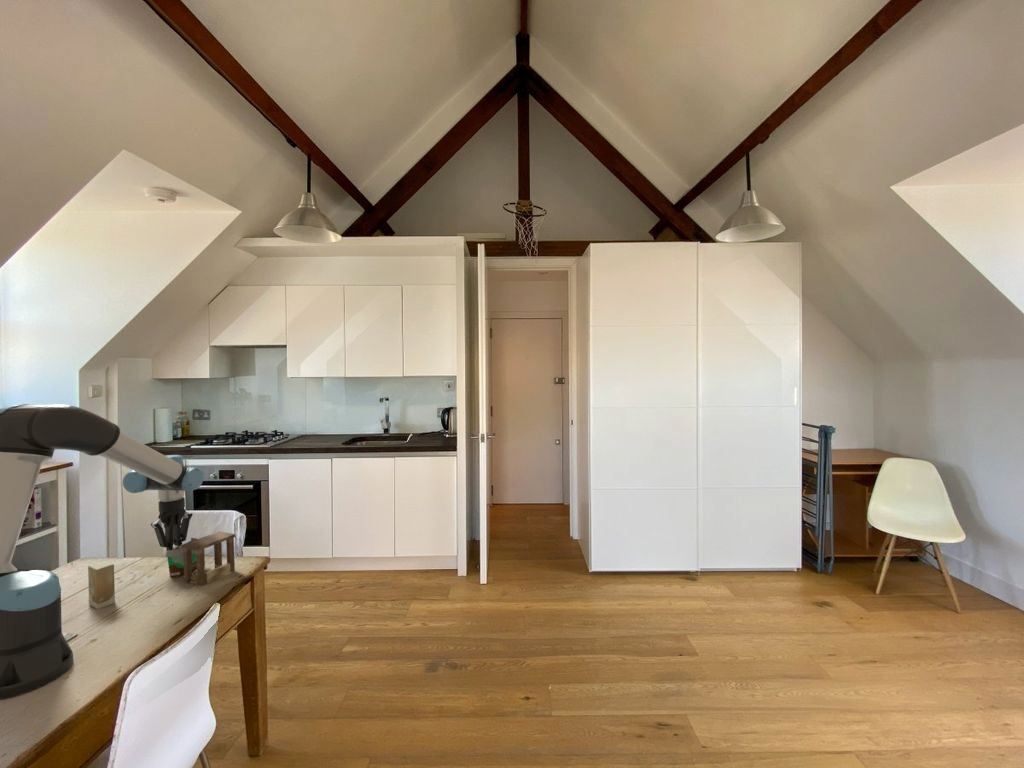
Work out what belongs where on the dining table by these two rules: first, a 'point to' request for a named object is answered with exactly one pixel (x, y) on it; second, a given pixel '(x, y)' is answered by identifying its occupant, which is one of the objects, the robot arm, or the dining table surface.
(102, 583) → the skincare box
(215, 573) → the small wooden bench
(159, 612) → the dining table surface
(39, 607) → the robot arm
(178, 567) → the food container
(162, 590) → the dining table surface
